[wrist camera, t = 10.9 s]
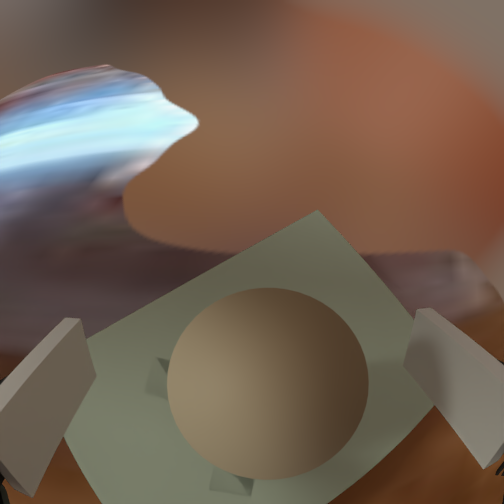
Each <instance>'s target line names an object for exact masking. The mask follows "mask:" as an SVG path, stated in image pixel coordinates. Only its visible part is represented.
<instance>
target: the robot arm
mask: <svg viewBox="0 0 504 504" xmlns="http://www.w3.org/2000/svg"><path fill="white" fill-rule="evenodd" d="M403 366H404V367H405V369H406V370H407V371H408V372H409V374H410V375H411V376H412V377H413V378H414V380H415V381H416V382H417V383H418V385H419V386H420V387H421V388H422V390H423V391H424V392H425V393H426V395H427V396H428V397H429V398H430V400H431V401H432V402H433V403H434V405H435V406H436V407H437V409H438V410H439V411H440V412H441V414H442V415H443V416H444V418H445V419H446V420H447V421H448V423H449V424H450V425H451V427H452V428H453V429H454V431H455V432H456V433H457V434H458V436H459V437H460V438H461V440H462V441H463V442H464V444H465V445H466V446H467V448H468V449H469V450H470V452H471V453H472V455H473V456H474V457H475V459H476V460H477V461H478V463H479V464H480V466H481V467H482V468H483V470H484V469H485V468H487V467H488V466H490V465H492V464H493V463H495V462H496V461H498V460H499V459H500V457H501V456H502V455H503V453H504V363H503V362H502V361H500V360H498V359H496V358H494V357H493V356H492V355H491V354H489V353H488V352H487V351H486V350H485V349H483V348H482V347H481V346H480V345H478V344H477V343H476V342H475V341H473V340H472V339H471V338H470V337H468V336H467V335H466V334H465V333H463V332H462V331H461V330H459V329H458V328H457V327H456V326H454V325H453V324H452V323H450V322H449V321H448V320H447V319H445V318H444V317H443V316H441V315H440V314H439V313H437V312H436V311H435V310H433V309H432V308H431V307H430V308H422V309H416V314H415V319H414V323H413V327H412V332H411V336H410V340H409V344H408V348H407V352H406V355H405V359H404V363H403ZM96 377H97V375H96V372H95V369H94V366H93V362H92V359H91V356H90V352H89V349H88V345H87V341H86V337H85V334H84V330H83V326H82V321H81V319H78V318H66V317H65V318H64V319H63V320H62V321H61V322H60V323H59V324H58V325H57V326H56V327H55V328H54V329H53V330H52V331H51V332H50V333H49V334H48V335H47V336H46V337H45V338H44V339H43V340H42V341H41V342H40V343H39V344H38V345H37V346H36V347H35V348H34V349H33V350H32V351H31V352H30V353H29V354H28V355H27V356H26V357H25V358H24V359H23V361H22V362H21V363H20V364H19V365H18V366H17V367H16V368H15V369H14V370H13V371H12V372H11V373H10V375H9V376H7V377H5V378H3V379H2V380H0V504H10V503H9V499H8V495H7V492H6V489H5V487H4V486H3V485H2V482H3V480H4V478H5V479H6V480H7V482H8V483H9V484H10V485H11V486H12V487H13V488H14V489H15V490H17V491H19V492H21V493H23V494H25V495H27V496H30V497H32V498H33V497H34V494H35V492H36V490H37V488H38V486H39V484H40V482H41V479H42V477H43V475H44V473H45V471H46V469H47V467H48V465H49V463H50V461H51V459H52V457H53V455H54V453H55V451H56V449H57V447H58V445H59V443H60V442H61V440H62V438H63V436H64V434H65V432H66V430H67V428H68V426H69V425H70V423H71V421H72V419H73V417H74V416H75V414H76V412H77V410H78V408H79V407H80V405H81V403H82V401H83V399H84V398H85V396H86V394H87V392H88V391H89V389H90V387H91V386H92V384H93V382H94V380H95V379H96ZM503 468H504V462H503V463H502V464H501V466H500V467H499V468H498V469H497V471H496V474H495V475H498V474H499V473H500V472H501V471H502V470H503ZM501 476H504V472H503V473H502V475H501ZM502 504H504V496H503V503H502Z"/></svg>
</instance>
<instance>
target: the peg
mask: <svg viewBox="0 0 504 504" xmlns="http://www.w3.org/2000/svg"><path fill="white" fill-rule="evenodd" d="M368 389H369V378H368V368H367V364H366V359H365V356H364V353H363V350H362V348H361V345H360V343H359V341H358V340H357V338H356V336H355V334H354V333H353V331H352V330H351V328H350V327H349V326H348V325H347V323H346V322H345V321H344V320H343V319H342V318H341V317H340V316H339V315H338V314H337V313H336V312H334V311H333V310H332V309H331V308H329V307H328V306H326V305H325V304H323V303H322V302H320V301H318V300H316V299H314V298H312V297H311V296H308V295H305V294H302V293H300V292H296V291H292V290H288V289H280V288H256V289H249V290H244V291H240V292H237V293H234V294H231V295H228V296H226V297H224V298H222V299H220V300H218V301H216V302H214V303H213V304H211V305H210V306H208V307H207V308H205V309H204V310H203V311H202V312H201V313H199V314H198V315H197V316H196V317H195V318H194V319H193V320H192V321H191V323H190V324H189V325H188V326H187V327H186V329H185V330H184V332H183V333H182V334H181V336H180V338H179V340H178V342H177V344H176V346H175V348H174V350H173V353H172V356H171V359H170V363H169V368H168V376H167V392H168V400H169V404H170V409H171V412H172V415H173V417H174V420H175V422H176V425H177V426H178V428H179V430H180V432H181V433H182V435H183V437H184V438H185V439H186V440H187V442H188V443H189V444H190V446H191V447H192V448H193V449H194V450H195V451H196V452H197V453H198V454H199V455H201V456H202V457H203V458H204V459H206V460H207V461H209V462H210V463H211V464H213V465H215V466H217V467H218V468H220V469H222V470H224V471H227V472H229V473H232V474H235V475H237V476H241V477H246V478H251V479H260V480H275V479H284V478H289V477H294V476H297V475H300V474H303V473H306V472H309V471H311V470H313V469H315V468H317V467H319V466H321V465H322V464H324V463H325V462H327V461H328V460H330V459H331V458H332V457H333V456H335V455H336V454H337V453H338V452H339V451H340V450H341V449H342V448H343V447H344V446H345V445H346V444H347V442H348V441H349V440H350V439H351V437H352V436H353V434H354V433H355V431H356V429H357V427H358V425H359V423H360V421H361V419H362V417H363V414H364V411H365V408H366V403H367V398H368Z"/></svg>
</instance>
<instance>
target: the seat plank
mask: <svg viewBox="0 0 504 504" xmlns="http://www.w3.org/2000/svg"><path fill="white" fill-rule="evenodd" d="M256 288H280V289H288V290H292V291H296V292H300V293H302V294H305V295H308V296H311V297H312V298H314V299H316V300H318V301H320V302H322V303H323V304H325V305H326V306H328V307H329V308H331V309H332V310H333V311H334V312H336V313H337V314H338V315H339V316H340V317H341V318H342V319H343V320H344V321H345V322H346V323H347V325H348V326H349V327H350V328H351V330H352V331H353V333H354V334H355V336H356V338H357V340H358V341H359V343H360V345H361V348H362V350H363V353H364V356H365V359H366V364H367V368H368V378H369V389H368V398H367V403H366V408H365V411H364V414H363V417H362V419H361V421H360V423H359V425H358V427H357V429H356V431H355V433H354V434H353V436H352V437H351V439H350V440H349V441H348V442H347V444H346V445H345V446H344V447H343V448H342V449H341V450H340V451H339V452H338V453H337V454H336V455H335V456H333V457H332V458H331V459H330V460H328V461H327V462H325V463H324V464H322V465H321V466H319V467H317V468H315V469H313V470H311V471H309V472H306V473H303V474H300V475H297V476H294V477H289V478H284V479H275V480H260V479H251V478H246V477H241V476H237V475H235V474H232V473H229V472H227V471H224V470H222V469H220V468H218V467H217V466H215V465H213V464H211V463H210V462H209V461H207V460H206V459H204V458H203V457H202V456H201V455H199V454H198V453H197V452H196V451H195V450H194V449H193V448H192V447H191V446H190V444H189V443H188V442H187V440H186V439H185V438H184V437H183V435H182V433H181V432H180V430H179V428H178V426H177V425H176V422H175V420H174V417H173V415H172V412H171V409H170V404H169V400H168V392H167V376H168V368H169V363H170V359H171V356H172V353H173V350H174V348H175V346H176V344H177V342H178V340H179V338H180V336H181V334H182V333H183V332H184V330H185V329H186V327H187V326H188V325H189V324H190V323H191V321H192V320H193V319H194V318H195V317H196V316H197V315H198V314H199V313H201V312H202V311H203V310H204V309H205V308H207V307H208V306H210V305H211V304H213V303H214V302H216V301H218V300H220V299H222V298H224V297H226V296H228V295H231V294H234V293H237V292H240V291H244V290H249V289H256ZM413 323H414V319H413V318H412V317H411V315H410V314H409V313H408V312H407V310H406V309H405V308H404V307H403V305H402V304H401V303H400V302H399V301H398V299H397V298H396V297H395V296H394V294H393V293H392V292H391V291H390V290H389V288H388V287H387V286H386V285H385V284H384V283H383V281H382V280H381V279H380V278H379V277H378V276H377V274H376V273H375V272H374V271H373V270H372V269H371V267H370V266H369V265H368V264H367V263H366V262H365V261H364V259H363V258H362V257H361V256H360V255H359V254H358V253H357V252H356V250H355V249H354V248H353V247H352V246H351V245H350V244H349V243H348V242H347V241H346V239H345V238H344V237H343V236H342V235H341V234H340V233H339V232H338V231H337V230H336V229H335V228H334V226H333V225H332V224H331V223H330V222H329V221H328V220H327V219H326V218H325V217H324V216H323V215H322V214H321V213H320V212H319V211H318V210H316V211H314V212H313V213H311V214H309V215H307V216H305V217H303V218H302V219H300V220H298V221H296V222H294V223H293V224H291V225H289V226H287V227H285V228H284V229H282V230H280V231H278V232H276V233H275V234H273V235H271V236H269V237H268V238H266V239H264V240H262V241H260V242H259V243H257V244H255V245H253V246H251V247H249V248H248V249H246V250H244V251H242V252H240V253H239V254H237V255H235V256H233V257H231V258H230V259H228V260H226V261H224V262H222V263H221V264H219V265H217V266H215V267H213V268H212V269H210V270H208V271H206V272H205V273H203V274H201V275H199V276H197V277H196V278H194V279H192V280H190V281H188V282H187V283H185V284H183V285H181V286H180V287H178V288H176V289H174V290H172V291H171V292H169V293H167V294H165V295H164V296H162V297H160V298H158V299H156V300H155V301H153V302H151V303H149V304H148V305H146V306H144V307H142V308H140V309H139V310H137V311H135V312H133V313H132V314H130V315H128V316H126V317H124V318H123V319H121V320H119V321H117V322H116V323H114V324H112V325H110V326H109V327H107V328H105V329H103V330H102V331H100V332H98V333H96V334H94V335H93V336H91V337H89V338H87V339H86V341H87V345H88V349H89V352H90V356H91V359H92V362H93V366H94V369H95V372H96V375H97V377H96V379H95V380H94V382H93V384H92V386H91V387H90V389H89V391H88V392H87V394H86V396H85V398H84V399H83V401H82V403H81V405H80V407H79V408H78V410H77V412H76V414H75V416H74V417H73V419H72V421H71V423H70V425H69V426H68V428H67V430H66V432H65V434H64V438H65V440H66V442H67V444H68V446H69V448H70V450H71V452H72V454H73V456H74V458H75V460H76V462H77V463H78V465H79V467H80V469H81V470H82V472H83V474H84V476H85V477H86V479H87V481H88V482H89V484H90V486H91V487H92V489H93V490H94V492H95V493H96V495H97V497H98V498H99V500H100V501H101V503H102V504H327V503H329V502H330V501H331V500H333V499H334V498H336V497H337V496H338V495H340V494H341V493H342V492H344V491H345V490H346V489H348V488H349V487H350V486H351V485H353V484H354V483H355V482H356V481H358V480H359V479H360V478H361V477H362V476H364V475H365V474H366V473H367V472H368V471H370V470H371V469H372V468H373V467H374V466H375V465H376V464H378V463H379V462H380V461H381V460H382V459H383V458H384V457H385V456H386V455H387V454H389V453H390V452H391V451H392V450H393V449H394V448H395V447H396V446H397V445H398V444H399V443H400V442H401V441H402V440H403V439H404V438H405V437H406V436H407V435H408V434H409V433H410V432H411V431H412V430H413V429H414V427H415V426H416V425H417V424H418V423H419V422H420V421H421V420H422V419H423V418H424V416H425V415H426V414H427V413H428V412H429V411H430V410H431V408H432V407H433V406H434V403H433V402H432V401H431V400H430V398H429V397H428V396H427V395H426V393H425V392H424V391H423V390H422V388H421V387H420V386H419V385H418V383H417V382H416V381H415V380H414V378H413V377H412V376H411V375H410V374H409V372H408V371H407V370H406V369H405V367H404V366H403V363H404V359H405V355H406V352H407V348H408V344H409V340H410V336H411V332H412V327H413Z"/></svg>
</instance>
